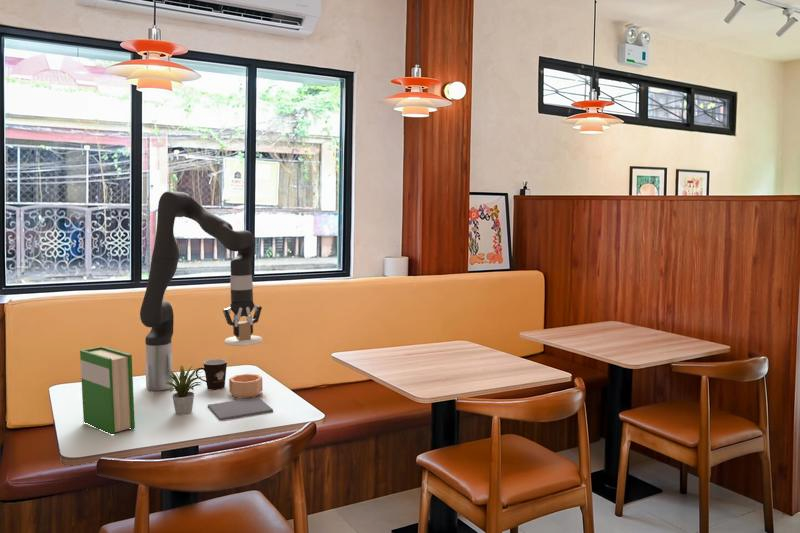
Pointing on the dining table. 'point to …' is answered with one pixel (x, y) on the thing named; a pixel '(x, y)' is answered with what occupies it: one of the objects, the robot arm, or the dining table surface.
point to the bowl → (245, 385)
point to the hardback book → (107, 389)
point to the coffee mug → (214, 373)
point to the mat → (239, 408)
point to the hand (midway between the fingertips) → (243, 335)
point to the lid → (243, 336)
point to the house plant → (183, 390)
